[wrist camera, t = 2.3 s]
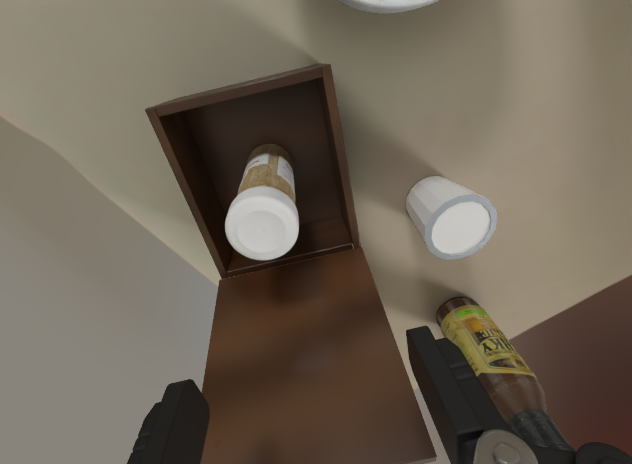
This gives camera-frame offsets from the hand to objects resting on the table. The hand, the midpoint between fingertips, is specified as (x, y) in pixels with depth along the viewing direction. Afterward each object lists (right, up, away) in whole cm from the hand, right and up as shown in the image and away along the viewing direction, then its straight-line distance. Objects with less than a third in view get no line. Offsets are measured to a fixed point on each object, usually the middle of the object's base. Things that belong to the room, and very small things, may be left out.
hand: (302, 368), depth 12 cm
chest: (-4, +12, +20) cm, 23 cm away
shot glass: (+13, +9, +24) cm, 28 cm away
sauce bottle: (+20, -6, +32) cm, 38 cm away
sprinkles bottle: (-4, +12, +19) cm, 23 cm away
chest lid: (-1, -3, +11) cm, 11 cm away
